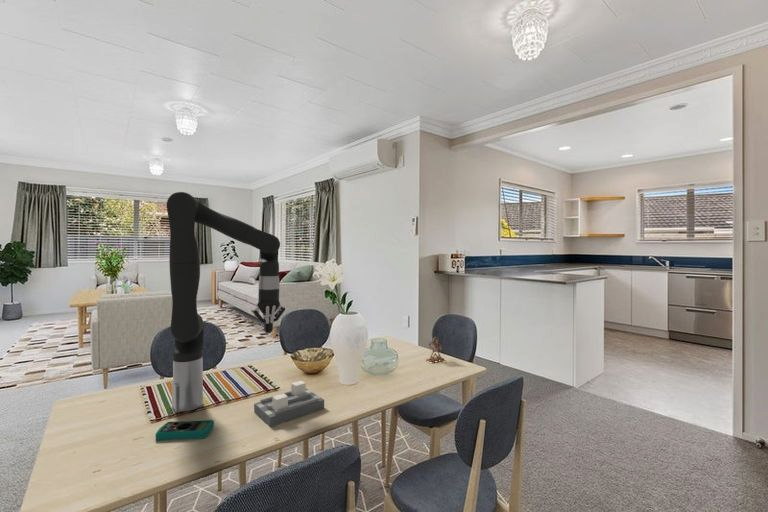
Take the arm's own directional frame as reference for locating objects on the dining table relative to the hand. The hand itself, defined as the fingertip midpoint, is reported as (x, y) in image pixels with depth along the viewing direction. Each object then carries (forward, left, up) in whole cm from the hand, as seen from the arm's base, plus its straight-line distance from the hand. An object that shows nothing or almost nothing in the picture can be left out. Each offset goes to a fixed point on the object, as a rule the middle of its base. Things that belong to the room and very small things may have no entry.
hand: (268, 332), depth 136 cm
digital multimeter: (-31, -10, -25) cm, 41 cm away
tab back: (+6, -14, -21) cm, 25 cm away
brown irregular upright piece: (+81, -15, -24) cm, 85 cm away
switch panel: (+1, -17, -24) cm, 29 cm away
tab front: (-5, -20, -21) cm, 29 cm away
